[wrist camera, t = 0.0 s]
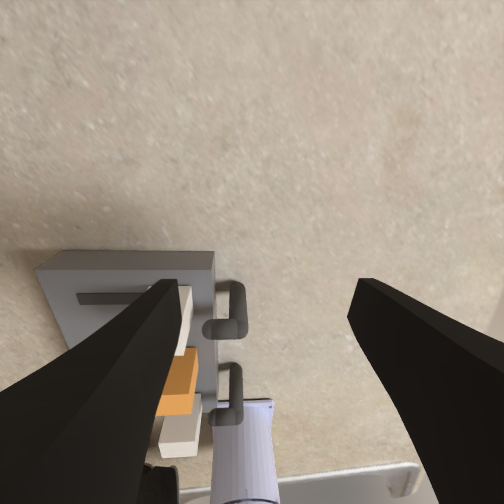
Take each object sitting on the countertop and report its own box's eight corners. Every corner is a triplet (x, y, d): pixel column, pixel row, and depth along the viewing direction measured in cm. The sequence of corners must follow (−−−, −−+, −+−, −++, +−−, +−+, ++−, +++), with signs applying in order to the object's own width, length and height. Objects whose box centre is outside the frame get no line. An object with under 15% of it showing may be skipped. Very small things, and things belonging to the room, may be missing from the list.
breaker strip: (218, 385, 27) (217, 413, 25) (114, 389, 26) (100, 419, 23) (214, 251, 19) (211, 270, 16) (62, 250, 18) (32, 270, 15)
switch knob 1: (193, 311, 18) (183, 355, 14) (154, 312, 18) (134, 356, 14) (191, 285, 17) (179, 325, 13) (149, 286, 17) (126, 327, 13)
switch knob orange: (198, 366, 21) (191, 414, 17) (164, 368, 21) (150, 416, 17) (196, 347, 20) (188, 394, 16) (161, 348, 19) (144, 396, 16)
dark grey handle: (241, 369, 26) (243, 428, 21) (212, 370, 26) (207, 430, 21) (245, 279, 21) (249, 328, 15) (208, 279, 20) (199, 329, 15)
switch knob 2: (202, 408, 24) (196, 455, 20) (172, 409, 23) (162, 458, 20) (200, 393, 23) (194, 441, 19) (170, 394, 22) (158, 443, 19)
